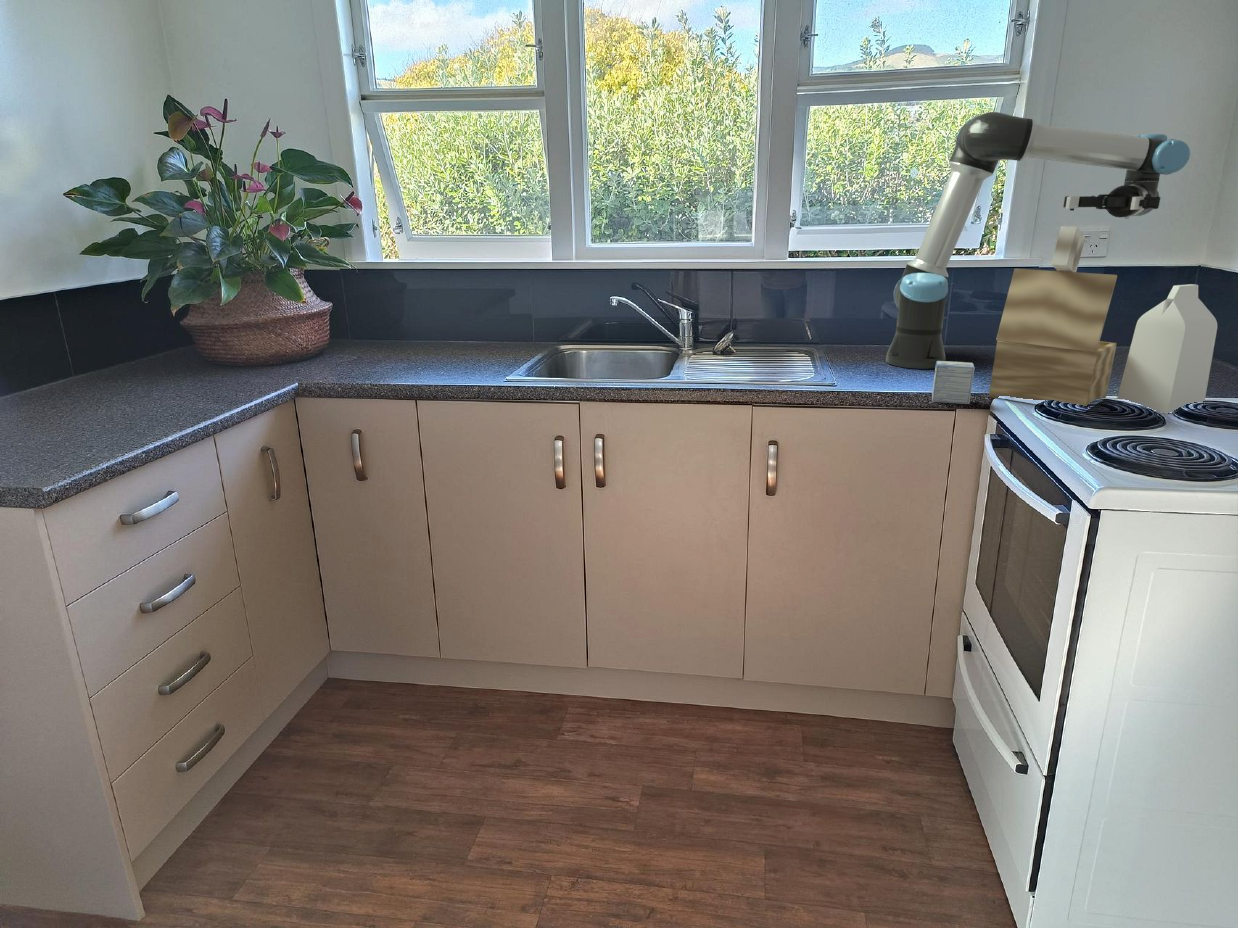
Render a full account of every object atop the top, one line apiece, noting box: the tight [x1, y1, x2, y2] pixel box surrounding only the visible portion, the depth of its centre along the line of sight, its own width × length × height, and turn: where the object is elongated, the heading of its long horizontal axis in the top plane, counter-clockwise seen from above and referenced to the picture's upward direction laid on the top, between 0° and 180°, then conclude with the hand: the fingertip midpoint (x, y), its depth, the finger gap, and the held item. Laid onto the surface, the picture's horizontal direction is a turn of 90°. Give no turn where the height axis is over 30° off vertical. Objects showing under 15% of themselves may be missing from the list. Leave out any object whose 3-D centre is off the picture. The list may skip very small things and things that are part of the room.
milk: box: [1116, 283, 1218, 415], centre depth 173 cm, size 12×12×26 cm
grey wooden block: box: [931, 360, 975, 405], centre depth 180 cm, size 8×4×9 cm, turn 71°
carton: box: [988, 340, 1118, 406], centre depth 181 cm, size 16×20×13 cm
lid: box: [995, 225, 1118, 353], centre depth 171 cm, size 24×20×8 cm
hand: (1099, 203), depth 186 cm, fingers open, 13 cm apart
